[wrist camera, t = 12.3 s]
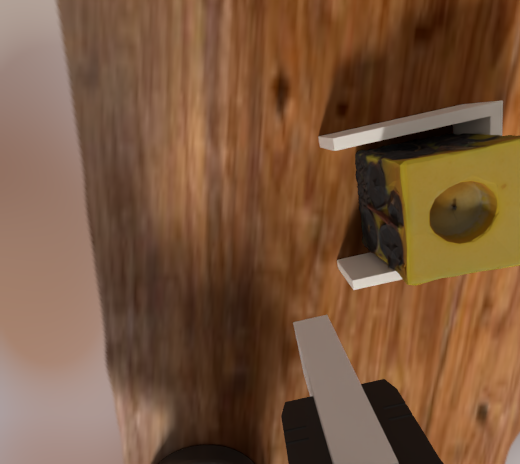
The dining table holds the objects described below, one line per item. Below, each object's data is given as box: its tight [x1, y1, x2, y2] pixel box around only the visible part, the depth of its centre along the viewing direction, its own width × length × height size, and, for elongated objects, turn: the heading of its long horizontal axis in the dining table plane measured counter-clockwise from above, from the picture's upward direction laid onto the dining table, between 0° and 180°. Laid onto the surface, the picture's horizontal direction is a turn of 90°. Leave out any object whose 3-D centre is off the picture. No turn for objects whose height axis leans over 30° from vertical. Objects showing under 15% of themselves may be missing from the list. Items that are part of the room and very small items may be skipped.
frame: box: [318, 100, 503, 290], centre depth 31 cm, size 14×14×5 cm
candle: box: [355, 133, 520, 286], centre depth 29 cm, size 10×10×10 cm
